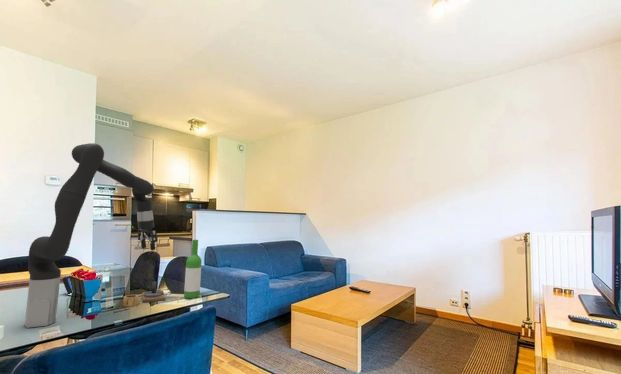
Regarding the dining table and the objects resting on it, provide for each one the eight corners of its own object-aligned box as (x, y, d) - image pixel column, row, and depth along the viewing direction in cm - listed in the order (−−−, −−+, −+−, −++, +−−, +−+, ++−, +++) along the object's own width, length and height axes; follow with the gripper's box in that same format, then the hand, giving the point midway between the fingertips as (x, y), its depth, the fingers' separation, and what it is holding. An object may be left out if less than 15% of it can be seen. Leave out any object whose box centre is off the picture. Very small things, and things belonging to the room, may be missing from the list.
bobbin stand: (165, 300, 154) (166, 284, 155) (142, 302, 150) (143, 286, 150) (162, 293, 168) (163, 278, 169) (142, 295, 164) (143, 279, 164)
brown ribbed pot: (138, 305, 145) (138, 297, 145) (122, 307, 142) (123, 298, 142) (138, 302, 150) (138, 294, 150) (123, 303, 147) (123, 295, 147)
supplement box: (93, 297, 156) (95, 272, 157) (100, 300, 152) (103, 274, 154) (76, 301, 150) (79, 274, 151) (83, 303, 146) (86, 276, 147)
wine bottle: (180, 298, 160) (184, 239, 163) (189, 294, 168) (193, 238, 171) (193, 299, 158) (197, 240, 161) (202, 295, 166) (205, 239, 169)
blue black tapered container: (82, 297, 156) (83, 279, 157) (59, 296, 158) (61, 277, 159) (106, 290, 172) (108, 273, 172) (85, 289, 174) (87, 272, 174)
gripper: (131, 219, 164) (134, 249, 166) (146, 221, 157) (149, 252, 158) (144, 217, 171) (147, 246, 172) (160, 218, 163) (162, 248, 164)
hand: (148, 249), depth 165 cm, fingers open, 8 cm apart
